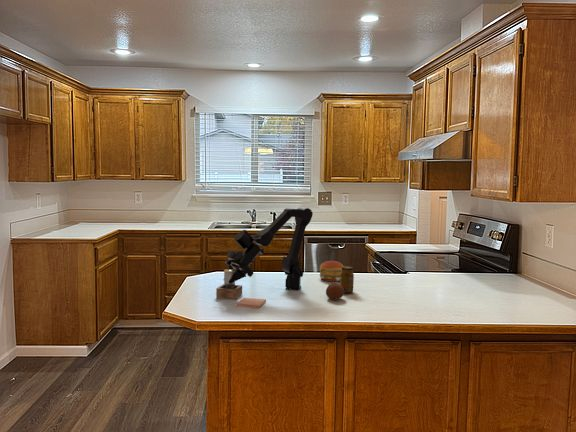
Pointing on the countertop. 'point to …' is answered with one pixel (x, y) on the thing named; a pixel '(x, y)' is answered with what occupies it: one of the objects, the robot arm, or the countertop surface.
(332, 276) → the burger
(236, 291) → the socket block
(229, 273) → the silver and gold cylinder
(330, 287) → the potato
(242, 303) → the terracotta tile
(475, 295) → the countertop surface
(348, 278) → the condiment
